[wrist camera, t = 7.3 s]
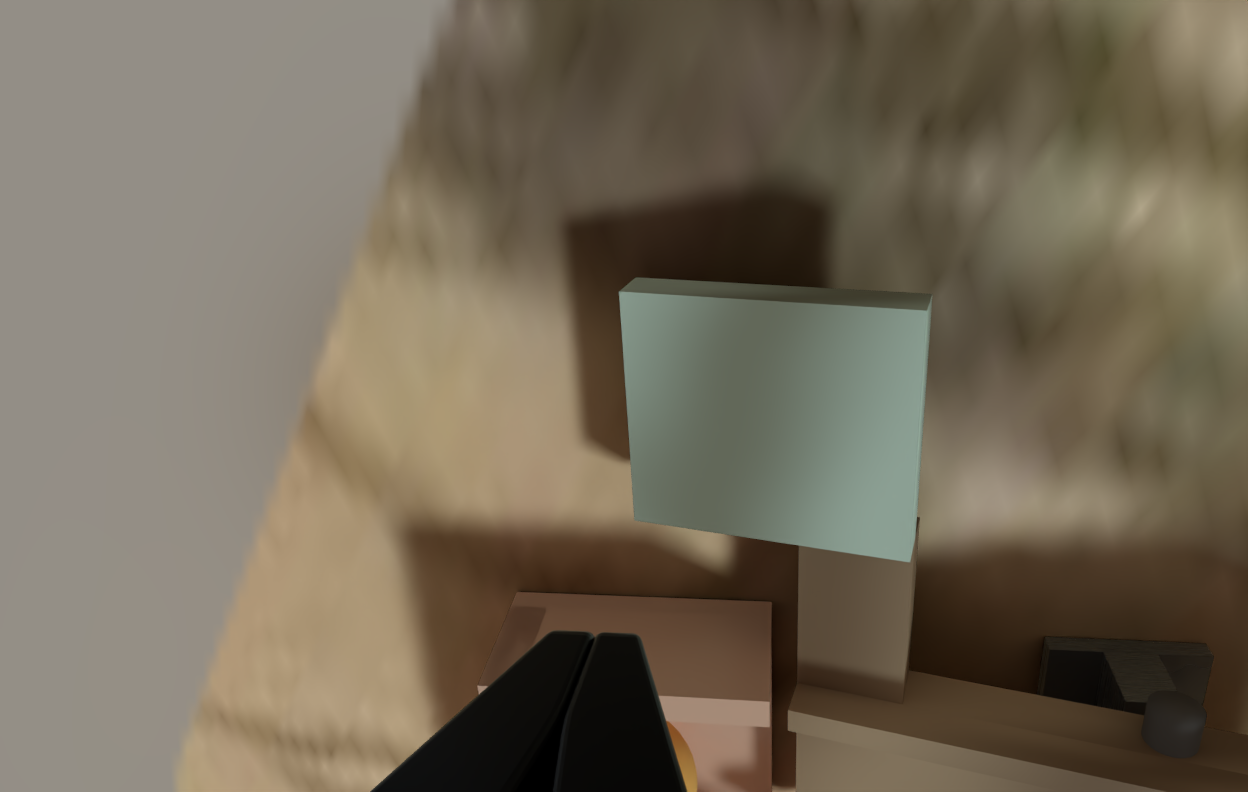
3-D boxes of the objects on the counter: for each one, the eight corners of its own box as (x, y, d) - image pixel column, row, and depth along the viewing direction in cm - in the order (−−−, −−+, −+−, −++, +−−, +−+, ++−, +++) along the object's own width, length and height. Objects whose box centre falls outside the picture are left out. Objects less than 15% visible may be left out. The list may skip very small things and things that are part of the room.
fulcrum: (1205, 643, 19) (1244, 707, 17) (1162, 835, 21) (1193, 907, 20) (1044, 636, 20) (1068, 698, 18) (1018, 824, 22) (1037, 894, 20)
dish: (771, 601, 20) (769, 701, 18) (771, 825, 23) (770, 942, 20) (516, 591, 21) (477, 686, 18) (544, 808, 24) (514, 918, 21)
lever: (1764, 323, 12) (1891, 392, 10) (1453, 1024, 18) (1501, 1151, 16) (649, 266, 18) (603, 305, 16) (679, 818, 23) (647, 895, 21)
